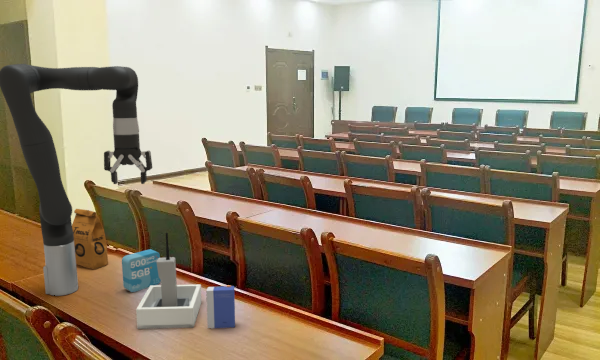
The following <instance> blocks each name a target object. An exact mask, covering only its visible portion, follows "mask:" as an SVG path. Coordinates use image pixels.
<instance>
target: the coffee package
mask: <svg viewBox="0 0 600 360" xmlns="http://www.w3.org/2000/svg"><path fill="white" fill-rule="evenodd" d="M74 215H75V216H74V218H73V221H72V229H73V233H74V245H75V256H76V266H77V265H78V266H82V267H84V268H87V269H92V270H97V269H101V268H102V267H105V266H107V265H109V259H108V257H109V256H108V245H107V238H106V234H105V229H104V227H103V224H102V222H101V220H100V217H99V216H98V214H97V212H96V211H93V210H89V209H84V208H83V209H80V208H75V210H74Z"/></svg>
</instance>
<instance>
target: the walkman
mask: <svg viewBox="0 0 600 360" xmlns="http://www.w3.org/2000/svg"><path fill="white" fill-rule="evenodd" d="M205 296H206V299H205V300H206V322H207V324H206V325H207V329H208V328H211V329H226V328H230V327H231V328H235V327H236V311H235V310H236V309H235V308H236V304H235V286H234V285H231V284H230V285H229V284H228V285H224V286H208V287H207V288H206V295H205Z"/></svg>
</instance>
